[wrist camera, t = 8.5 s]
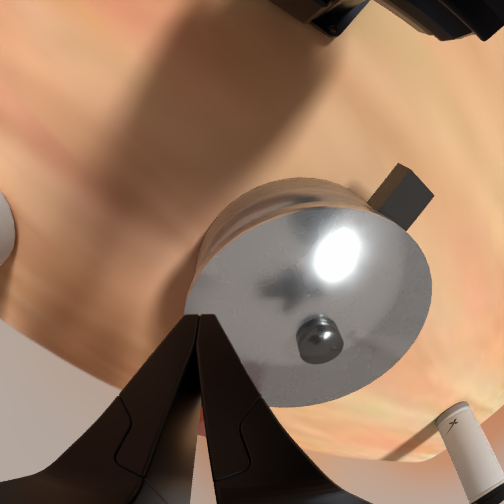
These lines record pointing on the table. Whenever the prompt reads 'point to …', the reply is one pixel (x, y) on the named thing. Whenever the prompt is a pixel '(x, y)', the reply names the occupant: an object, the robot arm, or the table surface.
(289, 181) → the pot
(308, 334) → the lid
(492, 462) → the travel mug
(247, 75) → the table surface
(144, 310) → the table surface
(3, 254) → the can
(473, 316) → the table surface
